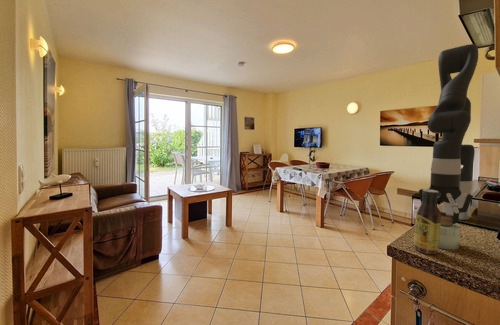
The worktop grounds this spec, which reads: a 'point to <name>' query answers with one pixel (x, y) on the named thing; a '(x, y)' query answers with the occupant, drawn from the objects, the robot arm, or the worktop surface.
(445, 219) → the lid
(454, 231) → the jar
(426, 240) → the sauce bottle
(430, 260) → the worktop surface
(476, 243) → the worktop surface
